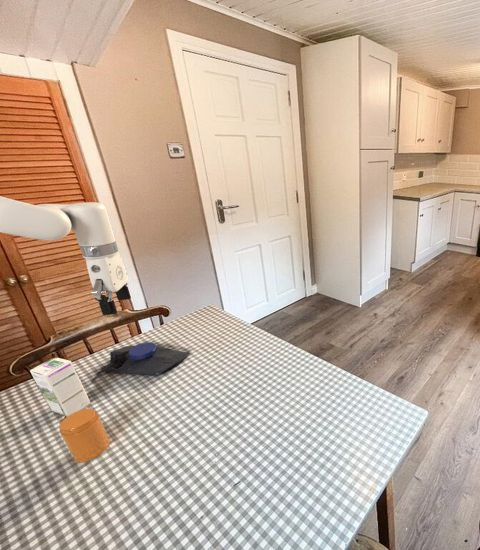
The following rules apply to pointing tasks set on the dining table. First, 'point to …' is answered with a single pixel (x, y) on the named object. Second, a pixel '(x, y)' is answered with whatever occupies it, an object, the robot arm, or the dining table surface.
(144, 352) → the lid
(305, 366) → the dining table surface
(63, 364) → the syrup box
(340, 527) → the dining table surface
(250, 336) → the dining table surface
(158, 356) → the dark slate chunk
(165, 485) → the dining table surface
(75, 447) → the jar
